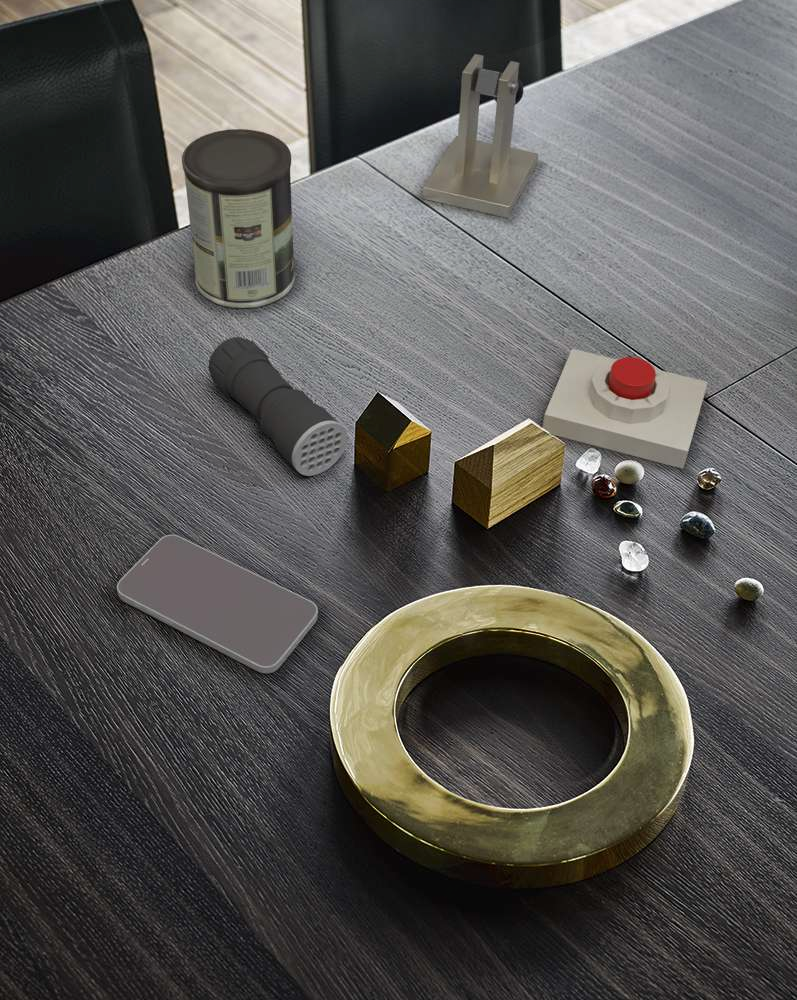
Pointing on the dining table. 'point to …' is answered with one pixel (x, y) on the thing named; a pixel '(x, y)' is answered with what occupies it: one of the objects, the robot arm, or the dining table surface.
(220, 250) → the coffee can
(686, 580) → the dining table surface
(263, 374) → the flashlight
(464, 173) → the stand
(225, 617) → the smartphone
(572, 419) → the stop box
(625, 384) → the stop button
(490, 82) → the lever
